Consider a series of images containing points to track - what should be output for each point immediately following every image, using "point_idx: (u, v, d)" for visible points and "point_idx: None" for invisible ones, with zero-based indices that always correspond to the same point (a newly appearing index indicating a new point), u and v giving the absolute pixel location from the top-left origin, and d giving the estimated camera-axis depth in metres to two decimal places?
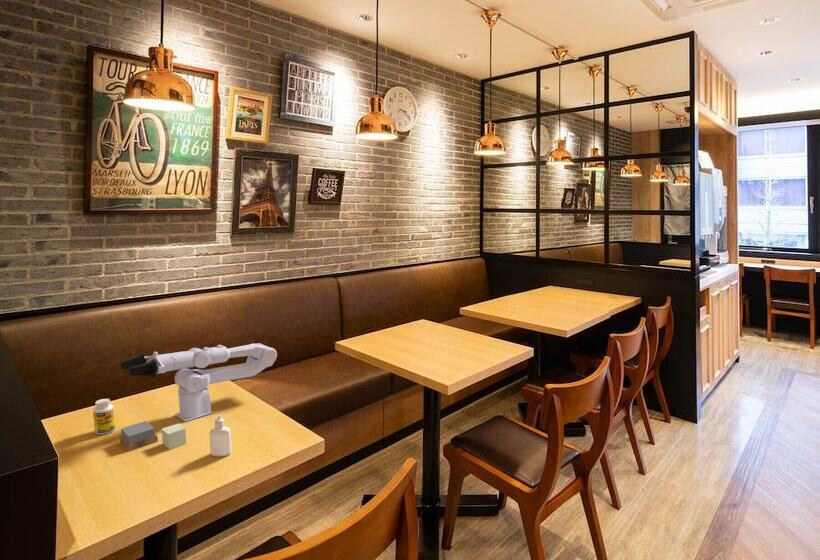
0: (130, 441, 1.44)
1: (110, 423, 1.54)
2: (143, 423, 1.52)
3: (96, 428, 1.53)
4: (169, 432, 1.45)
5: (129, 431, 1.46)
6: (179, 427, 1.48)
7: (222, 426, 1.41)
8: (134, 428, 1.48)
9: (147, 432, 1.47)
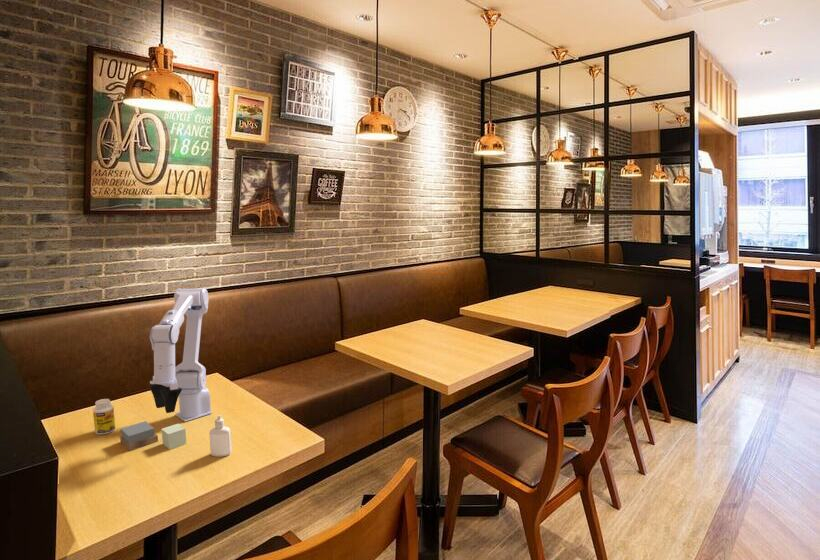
0: (130, 441, 1.44)
1: (110, 423, 1.54)
2: (143, 423, 1.52)
3: (96, 428, 1.53)
4: (169, 432, 1.45)
5: (129, 431, 1.46)
6: (179, 427, 1.48)
7: (222, 426, 1.41)
8: (134, 428, 1.48)
9: (146, 432, 1.47)
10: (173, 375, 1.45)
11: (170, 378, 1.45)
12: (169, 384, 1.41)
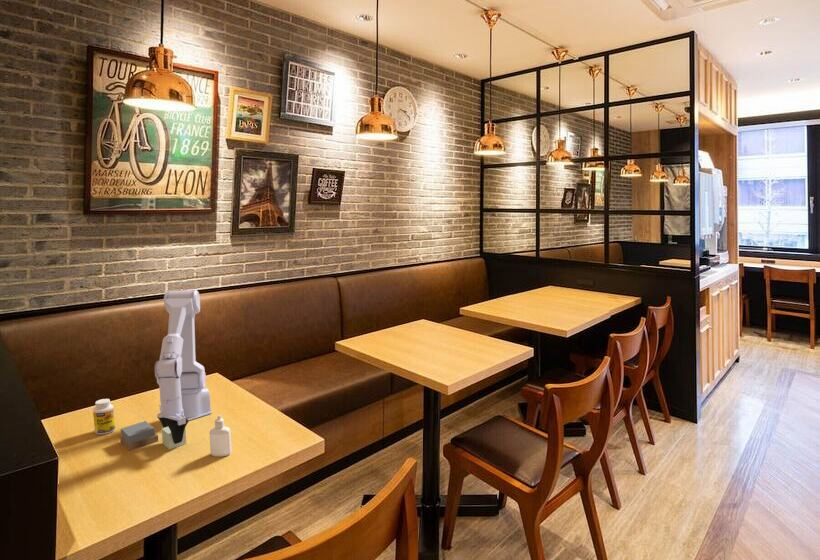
0: (130, 441, 1.44)
1: (110, 423, 1.54)
2: (143, 423, 1.52)
3: (96, 428, 1.53)
4: (169, 432, 1.45)
5: (129, 431, 1.47)
6: None
7: (222, 426, 1.41)
8: (134, 428, 1.48)
9: (147, 432, 1.47)
10: (180, 407, 1.46)
11: (178, 411, 1.45)
12: (177, 419, 1.42)
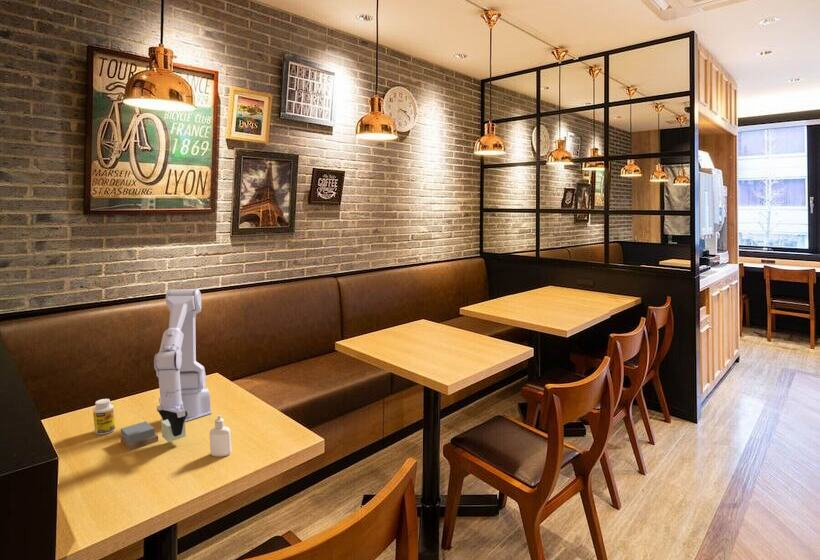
0: (130, 441, 1.44)
1: (110, 423, 1.54)
2: (143, 423, 1.52)
3: (96, 428, 1.53)
4: (168, 424, 1.45)
5: (129, 431, 1.47)
6: None
7: (222, 426, 1.41)
8: (134, 428, 1.49)
9: (147, 432, 1.47)
10: (179, 400, 1.46)
11: (177, 403, 1.45)
12: (176, 412, 1.41)
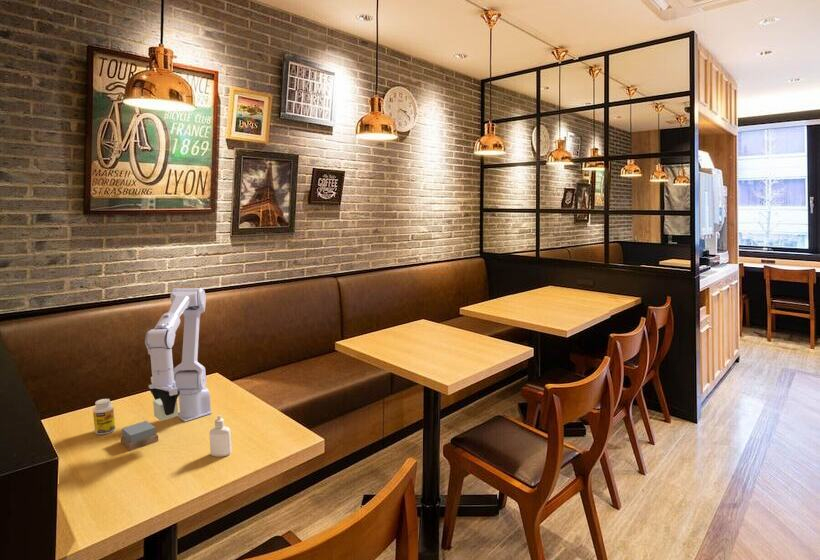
0: (132, 440, 1.45)
1: (110, 423, 1.54)
2: (144, 422, 1.52)
3: (96, 428, 1.53)
4: (161, 403, 1.44)
5: (130, 431, 1.47)
6: None
7: (222, 426, 1.41)
8: (135, 428, 1.49)
9: (148, 431, 1.48)
10: (172, 379, 1.45)
11: (169, 382, 1.44)
12: (168, 390, 1.40)
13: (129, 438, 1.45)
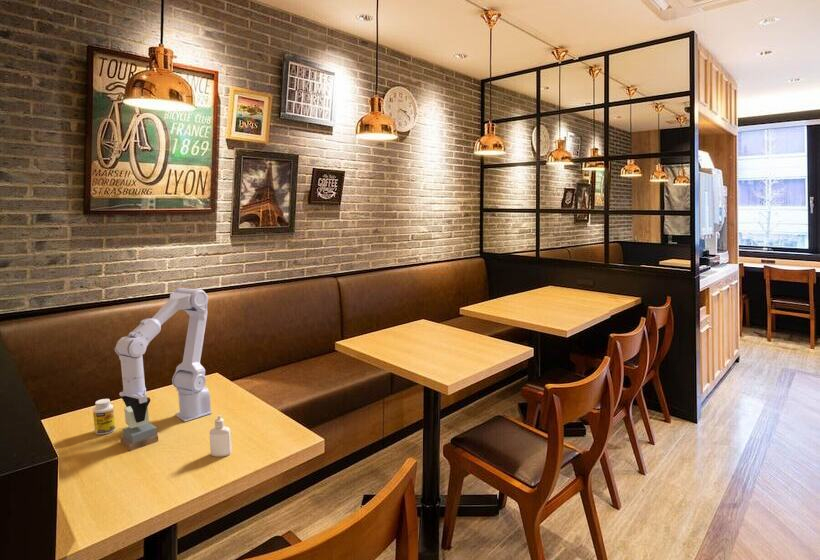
0: (133, 440, 1.45)
1: (110, 423, 1.54)
2: None
3: (96, 428, 1.53)
4: (131, 411, 1.45)
5: (131, 431, 1.47)
6: None
7: (222, 426, 1.41)
8: (137, 428, 1.49)
9: (149, 431, 1.48)
10: (142, 386, 1.46)
11: (140, 389, 1.45)
12: (138, 398, 1.42)
13: (130, 438, 1.45)
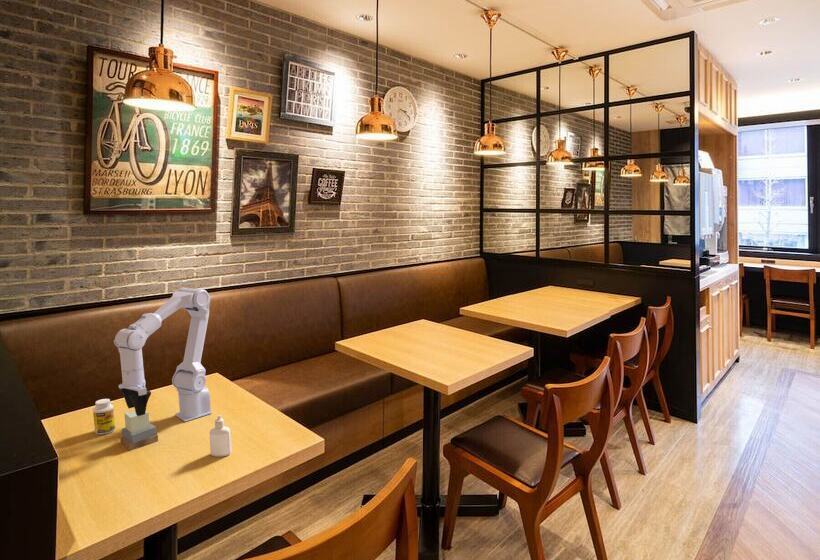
0: (133, 440, 1.45)
1: (110, 423, 1.54)
2: None
3: (96, 428, 1.53)
4: (132, 416, 1.45)
5: None
6: None
7: (222, 426, 1.41)
8: None
9: (149, 431, 1.48)
10: (142, 379, 1.46)
11: (139, 382, 1.45)
12: (137, 390, 1.41)
13: (130, 438, 1.45)
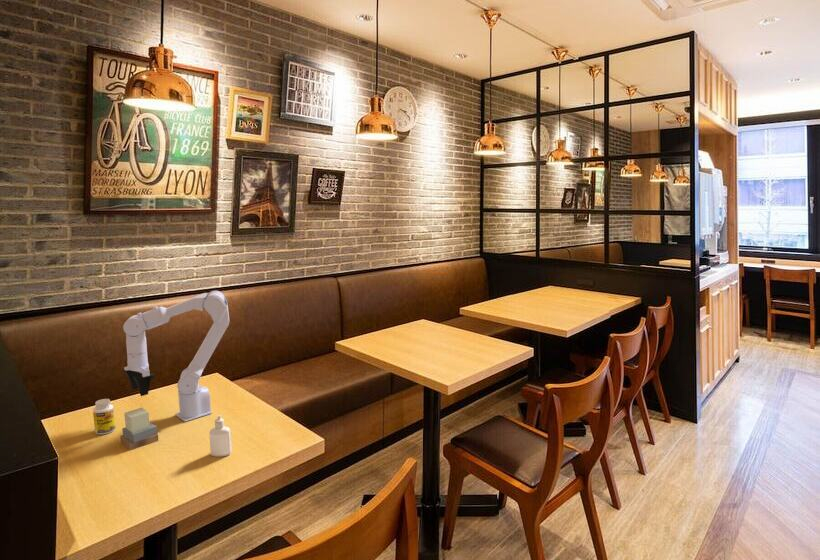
0: (134, 439, 1.45)
1: (110, 423, 1.54)
2: None
3: (96, 428, 1.53)
4: (132, 416, 1.46)
5: None
6: (142, 411, 1.49)
7: (222, 426, 1.41)
8: None
9: (150, 430, 1.49)
10: (145, 362, 1.59)
11: (143, 364, 1.58)
12: (141, 372, 1.55)
13: (131, 438, 1.45)
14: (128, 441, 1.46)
